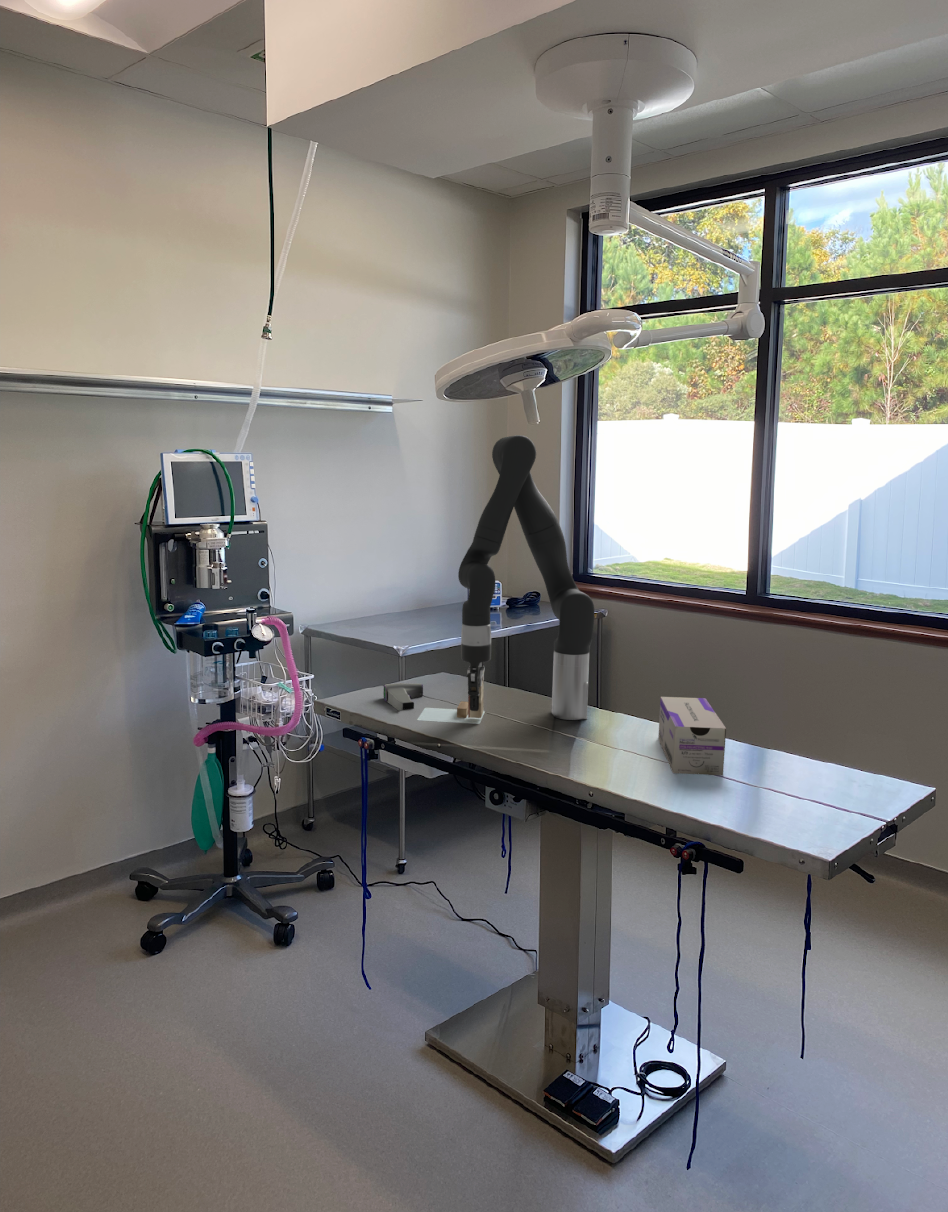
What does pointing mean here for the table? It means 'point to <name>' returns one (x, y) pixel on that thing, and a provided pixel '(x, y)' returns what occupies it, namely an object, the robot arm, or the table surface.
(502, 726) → the table surface
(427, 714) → the silicone mat
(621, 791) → the table surface
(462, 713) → the rail
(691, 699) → the surgical sutures box
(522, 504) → the robot arm
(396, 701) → the infrared thermometer
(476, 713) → the wooden block
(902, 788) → the table surface
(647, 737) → the table surface
